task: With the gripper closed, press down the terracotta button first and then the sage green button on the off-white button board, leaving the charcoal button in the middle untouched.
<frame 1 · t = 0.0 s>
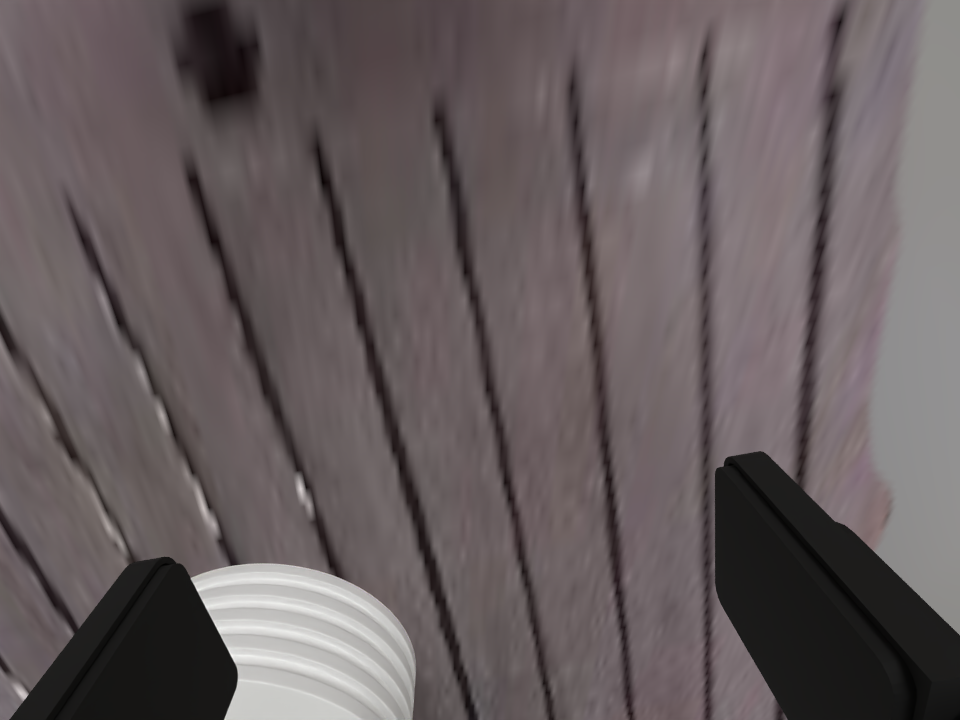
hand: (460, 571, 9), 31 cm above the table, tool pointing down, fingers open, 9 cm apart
plate stack: (279, 665, 54), on the table
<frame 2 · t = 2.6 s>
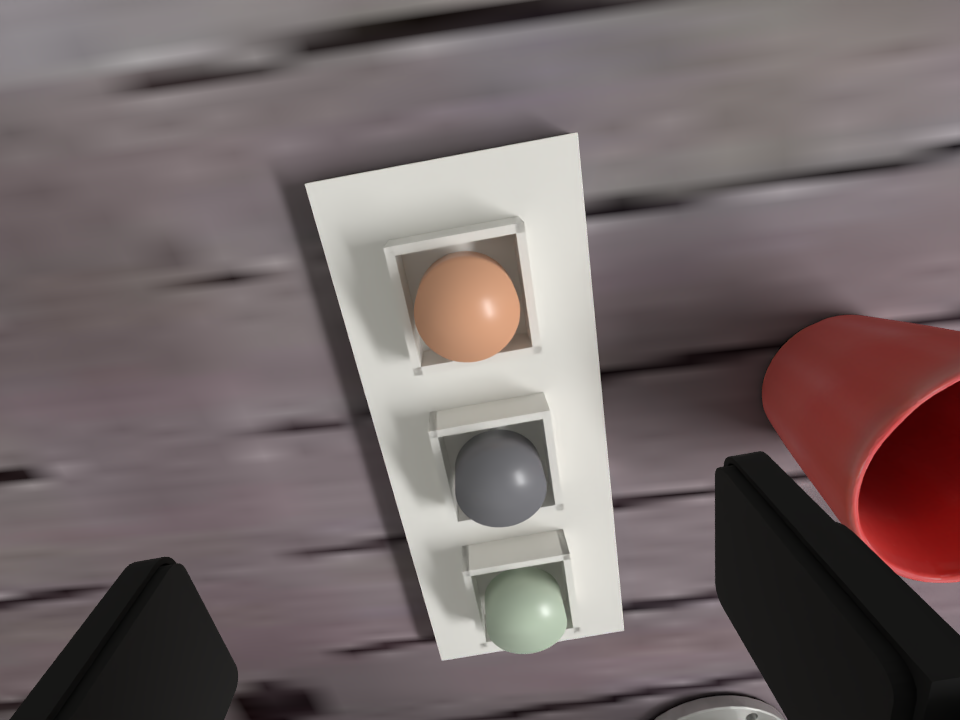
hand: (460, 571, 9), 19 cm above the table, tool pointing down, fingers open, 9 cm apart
button board: (493, 436, 30), on the table
terracotta button: (466, 306, 23), point 4 cm above the table, slide at 0.0 cm
charcoal button: (499, 478, 26), point 4 cm above the table, slide at 0.0 cm
sage button: (524, 610, 29), point 4 cm above the table, slide at 0.0 cm
flower pot: (825, 376, 30), on the table
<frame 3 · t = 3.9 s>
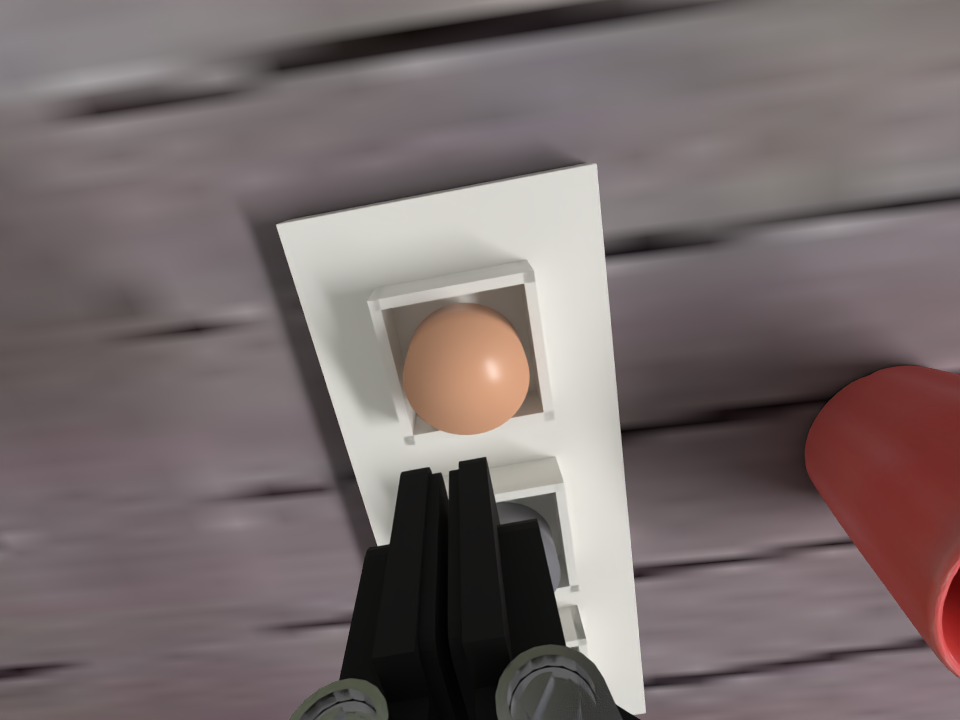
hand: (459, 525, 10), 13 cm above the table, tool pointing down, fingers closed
button board: (498, 501, 26), on the table
terracotta button: (466, 368, 19), point 4 cm above the table, slide at 0.0 cm
charcoal button: (505, 559, 22), point 4 cm above the table, slide at 0.0 cm
flower pot: (877, 433, 26), on the table
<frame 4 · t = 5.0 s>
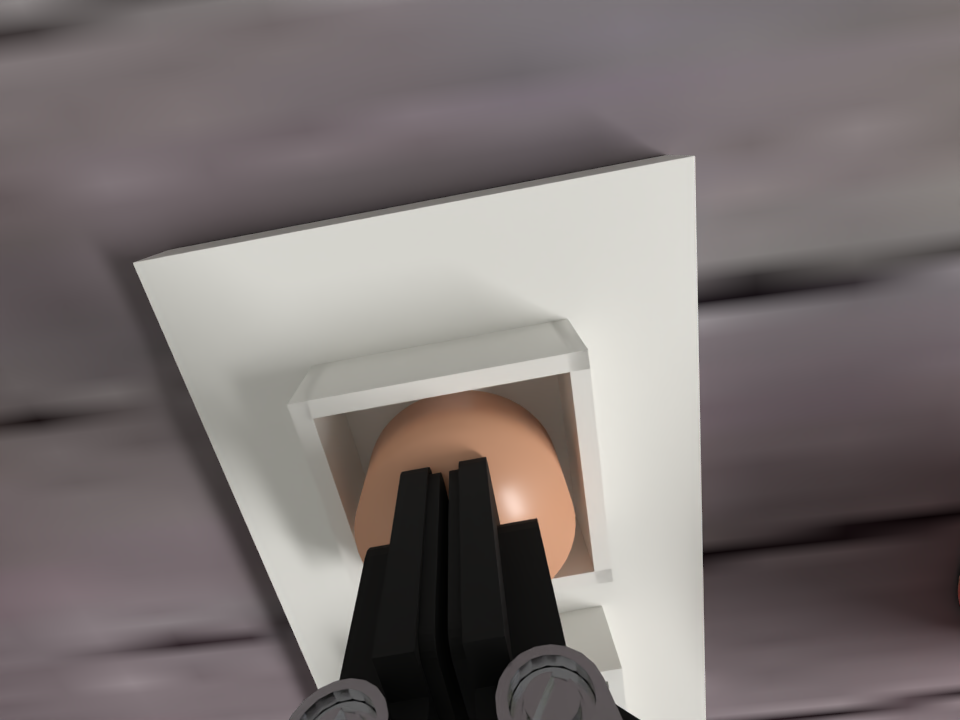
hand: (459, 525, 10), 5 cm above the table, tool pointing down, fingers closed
button board: (511, 648, 18), on the table
terracotta button: (465, 501, 11), point 4 cm above the table, slide at 0.5 cm, touching gripper
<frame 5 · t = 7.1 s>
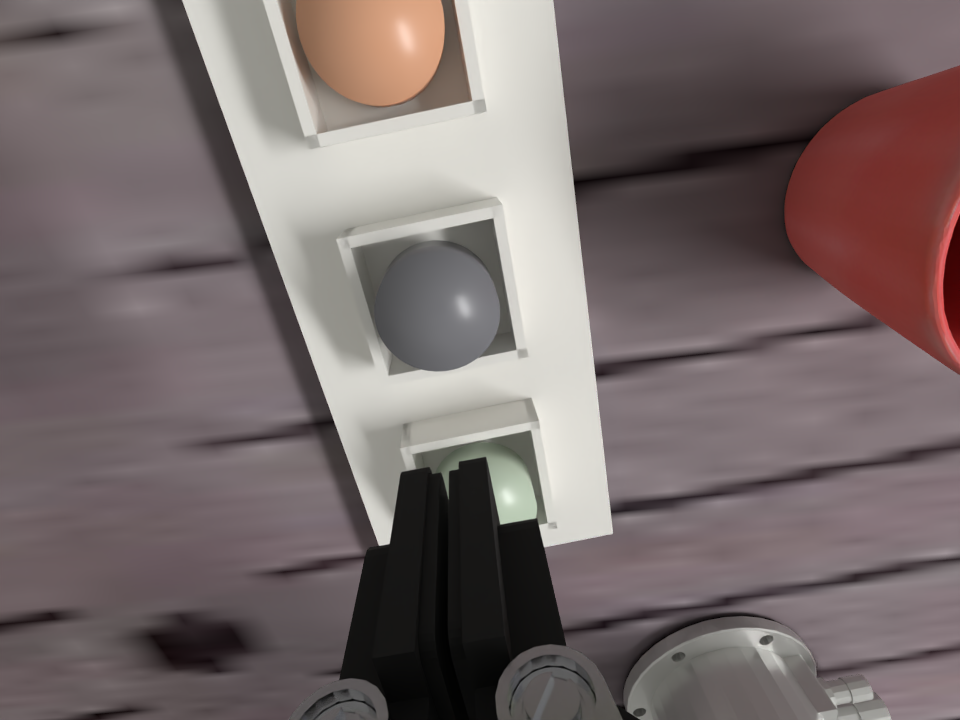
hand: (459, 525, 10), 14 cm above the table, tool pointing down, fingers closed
button board: (438, 277, 23), on the table
terracotta button: (375, 29, 17), point 3 cm above the table, slide at 1.2 cm
charcoal button: (437, 305, 19), point 4 cm above the table, slide at 0.0 cm
sage button: (483, 497, 23), point 4 cm above the table, slide at 0.0 cm
flower pot: (866, 187, 23), on the table
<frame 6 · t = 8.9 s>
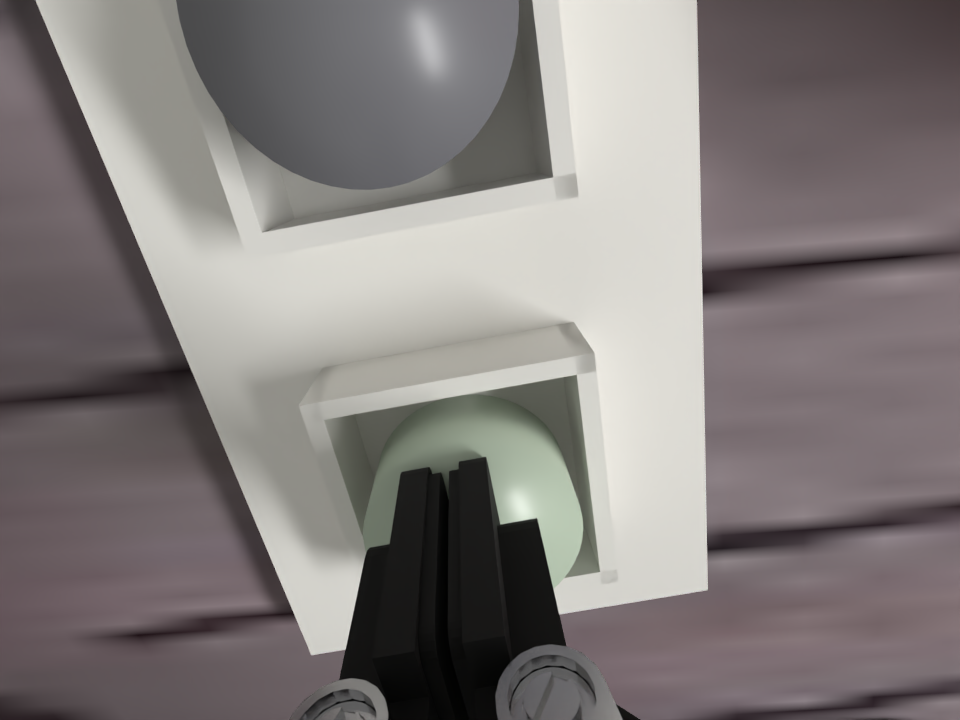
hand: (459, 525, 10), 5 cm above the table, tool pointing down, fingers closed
button board: (393, 67, 11), on the table
charcoal button: (363, 28, 8), point 4 cm above the table, slide at 0.0 cm
sage button: (472, 505, 11), point 4 cm above the table, slide at 0.4 cm, touching gripper
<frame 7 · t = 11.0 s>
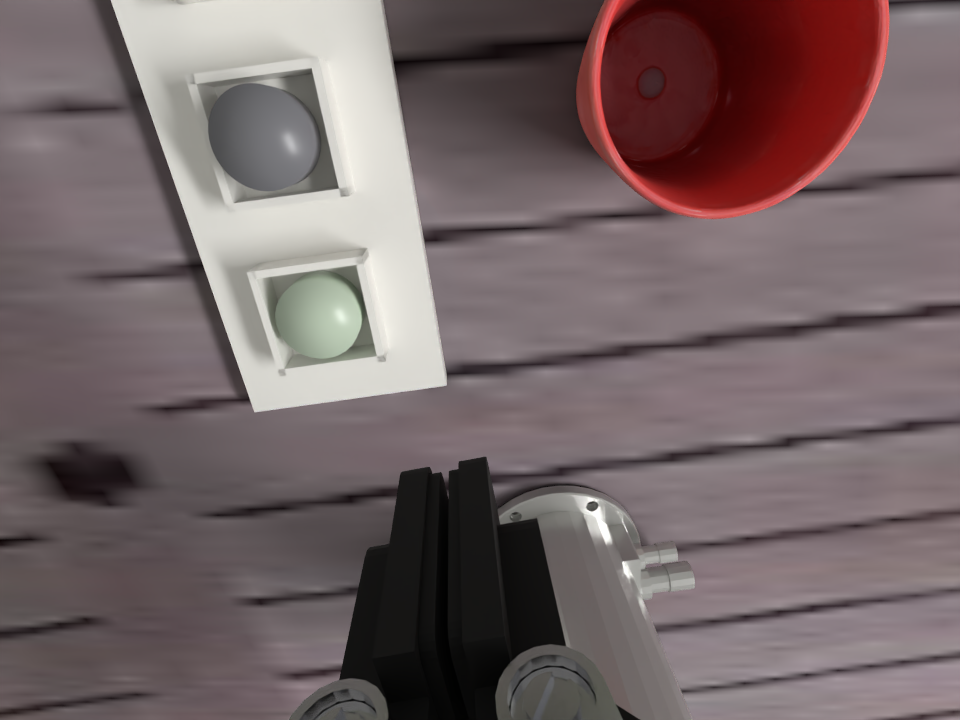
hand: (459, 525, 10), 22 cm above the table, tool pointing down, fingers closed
button board: (291, 137, 28), on the table
charcoal button: (267, 138, 24), point 4 cm above the table, slide at 0.0 cm
sage button: (321, 314, 29), point 3 cm above the table, slide at 1.2 cm
flower pot: (645, 88, 28), on the table
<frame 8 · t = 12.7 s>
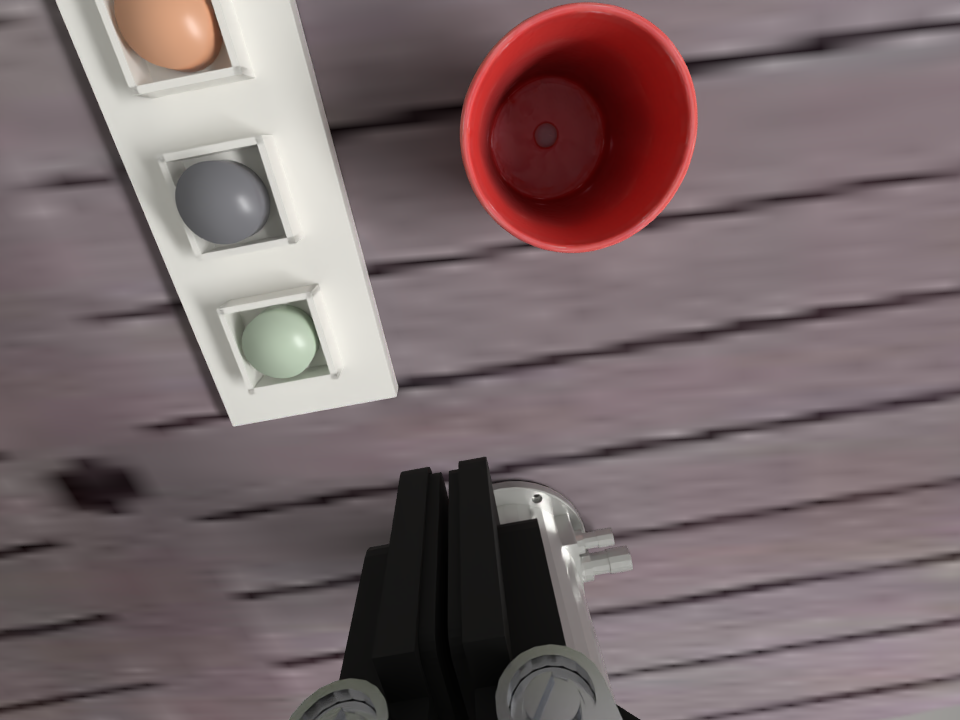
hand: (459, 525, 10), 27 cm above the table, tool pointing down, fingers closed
button board: (249, 195, 33), on the table
terracotta button: (170, 22, 27), point 3 cm above the table, slide at 1.2 cm
charcoal button: (224, 202, 30), point 4 cm above the table, slide at 0.0 cm
sage button: (282, 341, 34), point 3 cm above the table, slide at 1.2 cm
flower pot: (544, 138, 33), on the table
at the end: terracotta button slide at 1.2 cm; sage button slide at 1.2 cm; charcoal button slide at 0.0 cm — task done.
